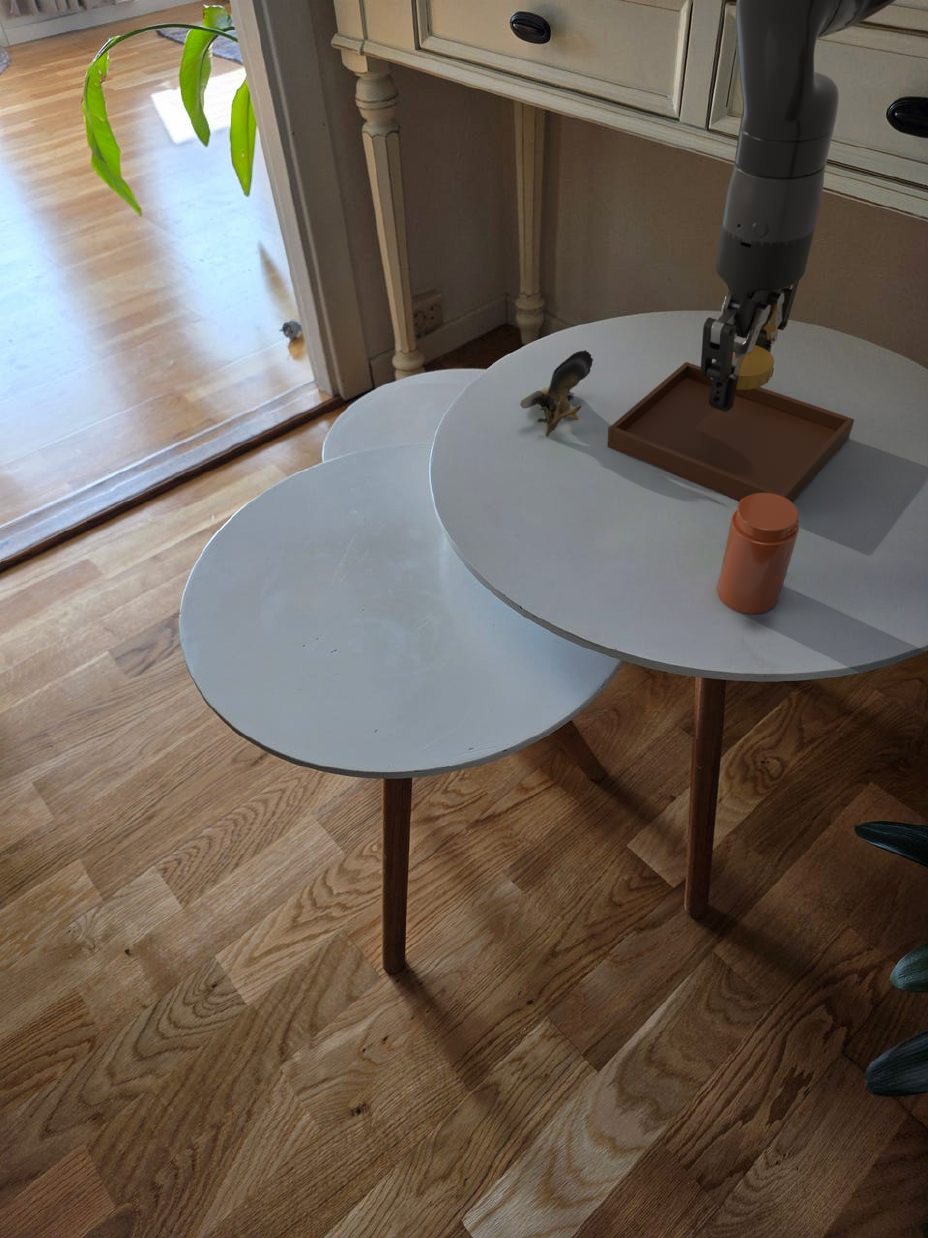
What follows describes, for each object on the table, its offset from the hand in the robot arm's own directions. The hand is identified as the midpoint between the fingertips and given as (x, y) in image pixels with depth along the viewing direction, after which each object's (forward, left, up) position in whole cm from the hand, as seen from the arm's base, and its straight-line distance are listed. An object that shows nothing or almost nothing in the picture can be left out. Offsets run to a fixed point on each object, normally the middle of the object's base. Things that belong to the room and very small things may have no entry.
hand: (736, 391), depth 85 cm
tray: (0, 0, -6) cm, 6 cm away
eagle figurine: (+17, +6, -6) cm, 19 cm away
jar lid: (0, 0, +3) cm, 3 cm away
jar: (-12, +18, -6) cm, 22 cm away
